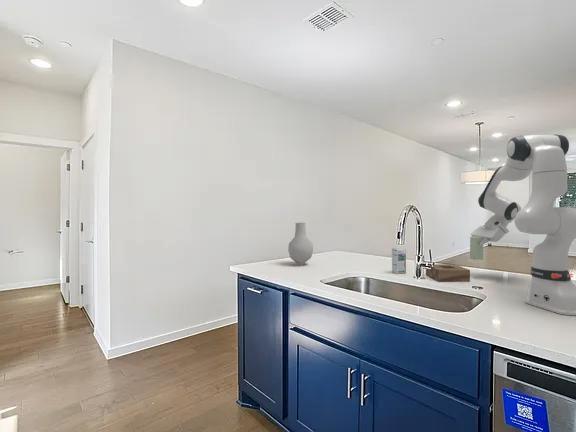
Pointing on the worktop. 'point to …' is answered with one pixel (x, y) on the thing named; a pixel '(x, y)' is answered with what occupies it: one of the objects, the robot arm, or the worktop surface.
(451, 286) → the worktop surface
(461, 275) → the well block
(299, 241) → the vase
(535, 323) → the worktop surface
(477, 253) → the peg
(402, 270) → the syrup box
